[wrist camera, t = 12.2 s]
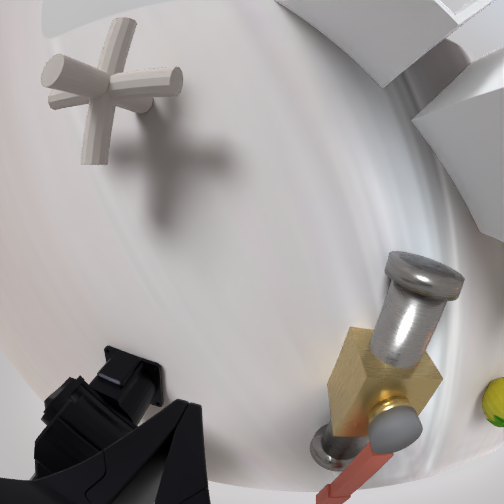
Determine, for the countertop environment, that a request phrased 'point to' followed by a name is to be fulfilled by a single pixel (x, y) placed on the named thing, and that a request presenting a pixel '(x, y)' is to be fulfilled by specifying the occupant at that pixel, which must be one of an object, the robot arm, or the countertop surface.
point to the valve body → (386, 358)
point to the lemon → (494, 402)
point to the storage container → (444, 104)
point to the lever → (374, 452)
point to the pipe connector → (107, 88)
